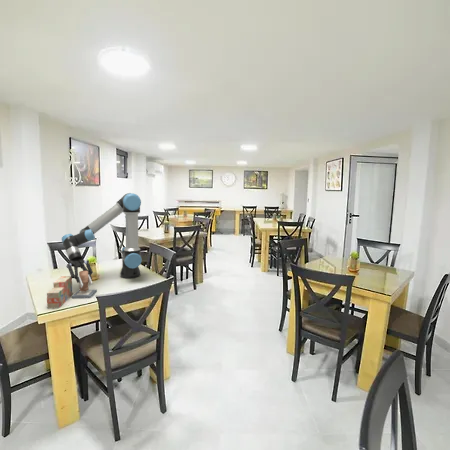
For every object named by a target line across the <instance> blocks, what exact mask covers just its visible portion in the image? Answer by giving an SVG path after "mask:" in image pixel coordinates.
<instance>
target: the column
mask: <svg viewBox="0 0 450 450" xmlns="http://www.w3.org/2000/svg"><path fill="white" fill-rule="evenodd" d="M79 276H80V278H81V281H82V283H83V287H82V288H81V287H80V286H79V290H80V291H88V290H90V289H89V282H88V271H83V270H81V271H78V277H79Z"/></svg>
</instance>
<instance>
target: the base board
mask: <svg viewBox="0 0 450 450" xmlns="http://www.w3.org/2000/svg"><path fill="white" fill-rule="evenodd" d="M97 292H98V289H89V290H88V291H80V289H78V290H77V291H76V292H75V293H73V294H72V295H71V300H72V299H92V297H93V296H94V295H95V294H96V293H97Z"/></svg>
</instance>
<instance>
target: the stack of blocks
mask: <svg viewBox="0 0 450 450" xmlns="http://www.w3.org/2000/svg"><path fill="white" fill-rule="evenodd" d="M52 284H53V287H52V288H51V289H50V290H48V292H46V306H47V307H46V308H47V309H59V308H60V307H61V306H63V304H64V303H66V301H68V299H70V298H71V297H72V296H73V295H74V293H73V279H72V277H71V275H65V276H61V275H60V277H59V278H57V279H56V280H55V281H53V283H52Z"/></svg>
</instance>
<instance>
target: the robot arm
mask: <svg viewBox="0 0 450 450" xmlns="http://www.w3.org/2000/svg"><path fill="white" fill-rule="evenodd" d="M141 205H142V200H141V198H140V196H139V195H138V194H136V193H133V192H132V193H131V192H129V193H126V194H124V195H123V196H122V197H121V198H119V199H118V200H117V201H116V202H115V204H114V205H113V206H111V207H110V208H109V209H108V210H106V211H105V212H103V214H101V215H100V216H98V217H97V218H96V219H94V220H93V221H92V222H90V223H88V225H86V226H85V227H84V228H81V230H79V233H77V234H72V233H67V234H64V235H62V237H61V242H62V245H63V248H64V250H65V254H66V255H67V257H68V260H69V262H70V263H67V265H66V268H67V269H68V271H69V276H71V277H72V280H73V279H74V280H75V281H76V282H77V284H79V288H80V287H81V288H82V287H83V283H82V281H81V278H80V276H79V268H80V269H81V270H82V271H88V285H89V286H92V285H93V281H92V278H93V277H92V274H93V269H92V267H91V265H90V260H88V259H87V260H84V258H83V255H82V254H81V251H80V248H79V246H81V245H83V244H86V243H88V242H91V241H93V240H95V239H96V237H95V234H96V233H97V232H99V231H100V230H101V229H103V228H104V227H105V226H106V225H108V224H109V223H110V222H112V221H113V220H114V219H116V218H117V217H118V216H120V215H121V214H122V213H123V214H124V215H125V216H124V217H125V246H124V247H123V246H122V249H121V258H122V260H121V261H122V264H121V265H122V268H121V270H120V278H123V279H133V278H138V277H140V276H141V270H140V266H141V264H142V261H143V259H142V255H141V253H142V252H141V250H142V249H141V248H140V247H139V214H140V213H141Z"/></svg>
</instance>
